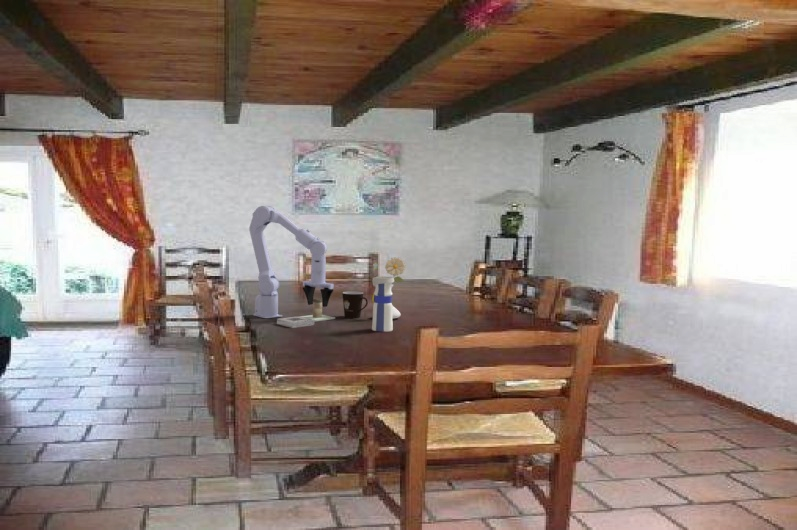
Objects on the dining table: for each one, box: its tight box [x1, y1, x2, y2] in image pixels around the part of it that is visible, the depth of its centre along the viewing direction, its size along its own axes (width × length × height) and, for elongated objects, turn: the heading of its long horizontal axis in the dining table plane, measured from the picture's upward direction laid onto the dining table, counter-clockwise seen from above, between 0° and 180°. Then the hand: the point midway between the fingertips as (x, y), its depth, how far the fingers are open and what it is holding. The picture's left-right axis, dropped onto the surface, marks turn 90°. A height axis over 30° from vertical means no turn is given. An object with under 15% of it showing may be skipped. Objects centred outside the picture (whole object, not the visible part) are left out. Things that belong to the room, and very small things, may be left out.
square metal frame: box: [276, 315, 316, 329], centre depth 241 cm, size 10×10×2 cm
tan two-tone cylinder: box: [312, 298, 323, 318], centre depth 255 cm, size 4×4×7 cm
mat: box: [299, 314, 336, 322], centre depth 255 cm, size 10×10×1 cm
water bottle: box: [371, 261, 395, 332], centre depth 234 cm, size 8×9×25 cm
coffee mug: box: [342, 291, 369, 319], centre depth 259 cm, size 12×9×10 cm
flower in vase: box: [384, 257, 406, 320], centre depth 259 cm, size 13×11×25 cm
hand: (317, 305), depth 255 cm, fingers open, 7 cm apart
